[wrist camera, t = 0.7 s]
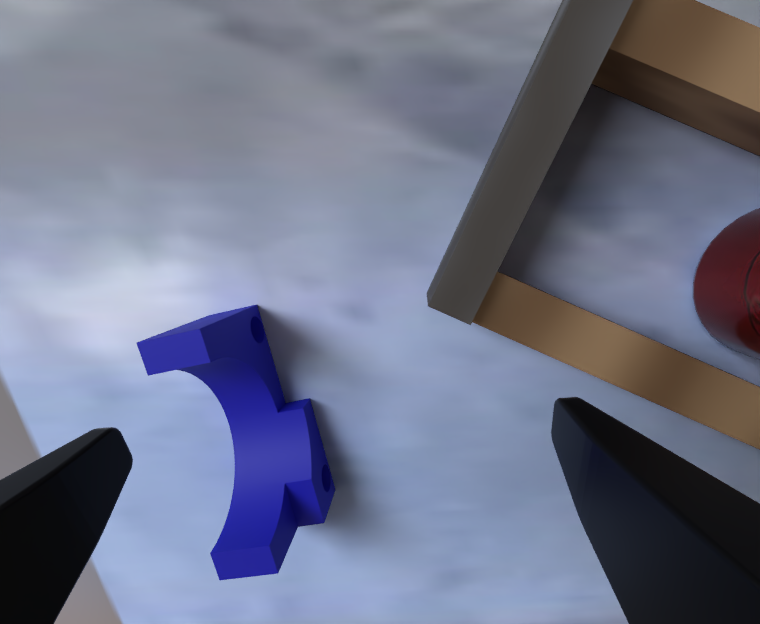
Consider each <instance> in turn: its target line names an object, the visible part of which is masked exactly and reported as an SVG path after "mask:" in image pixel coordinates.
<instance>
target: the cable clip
mask: <svg viewBox="0 0 760 624" xmlns="http://www.w3.org/2000/svg"><path fill="white" fill-rule="evenodd" d="M137 345H138V348H139V351H140V354H141V357H142V360H143V363H144V365H145V368H146V371H147V374H148V375H153V374H158V373H162V372H167V371H172V370H181V371H185V372H188V373H191V374H192V375H194V376H196V377H198V378H199V379H201V380H202V381H203V382H204V383H205V384H206V385H208V387H209V388H210V389H211V390H212V391H213V393H214V394H215V395H216V397H217V398H218V400H219V402H220V403H221V405H222V407H223V409H224V412H225V414H226V417H227V419H228V423H229V426H230V430H231V434H232V439H233V445H234V455H235V479H234V489H233V495H232V500H231V505H230V509H229V513H228V516H227V519H226V522H225V525H224V528H223V530H222V532H221V535H220V537H219V539H218V541H217V543H216V545H215V546H214V548H213V550H212V551H211V553H210V554H211V557H212V560H213V563H214V565H215V568H216V571H217V574H218V577H219V580H226V579H235V578H243V577H251V576H260V575H268V574H276V573H278V572H279V570H280V568H281V565H282V563H283V561H284V558H285V556H286V553H287V551H288V549H289V546H290V544H291V542H292V539H293V537H294V535H295V532H296V530H297V528H298V527H299V526H306V525H313V524H321V523H324V522H325V519H326V516H327V513H328V510H329V507H330V504H331V501H332V498H333V495H334V492H335V486H334V483H333V479H332V476H331V472H330V469H329V465H328V461H327V458H326V454H325V451H324V447H323V444H322V440H321V436H320V433H319V429H318V426H317V422H316V419H315V415H314V412H313V408H312V404H311V401H310V398H309V399H304V400H299V401H293V402H288V403H286V402H285V399H284V395H283V392H282V388H281V385H280V381H279V378H278V375H277V371H276V368H275V364H274V361H273V358H272V354H271V351H270V347H269V344H268V340H267V337H266V334H265V330H264V327H263V323H262V320H261V316H260V313H259V310H258V306H257V305H253V306H249V307H244V308H240V309H235V310H231V311H227V312H222V313H218V314H213V315H209V316H206V317H204V318H201V319H198V320H196V321H193V322H190V323H188V324H185V325H182V326H180V327H177V328H174V329H172V330H169V331H166V332H164V333H161V334H159V335H156V336H153V337H151V338H148V339H145V340H143V341H140V342H137Z"/></svg>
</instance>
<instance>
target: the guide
mask: <svg viewBox="0 0 760 624" xmlns="http://www.w3.org/2000/svg"><path fill="white" fill-rule="evenodd" d="M591 84H593V85H596V86H598V87H600V88H603V89H605V90H607V91H610V92H612V93H614V94H617V95H619V96H621V97H624V98H626V99H628V100H631V101H633V102H635V103H638V104H640V105H642V106H645V107H647V108H649V109H652V110H654V111H656V112H659V113H661V114H663V115H666V116H668V117H670V118H673V119H675V120H677V121H680V122H682V123H684V124H687V125H689V126H691V127H694V128H696V129H698V130H701V131H703V132H705V133H708V134H710V135H712V136H715V137H717V138H719V139H722V140H724V141H726V142H729V143H731V144H733V145H736V146H738V147H740V148H743V149H745V150H747V151H750V152H752V153H754V154H757V155H759V156H760V28H759V27H757V26H754V25H752V24H750V23H747V22H745V21H742V20H740V19H738V18H735V17H733V16H731V15H728V14H726V13H724V12H721V11H719V10H716V9H714V8H712V7H709V6H707V5H705V4H702V3H700V2H698V1H695V0H563V1H562V3H561V5H560V7H559V9H558V11H557V13H556V16H555V18H554V20H553V22H552V24H551V26H550V29H549V31H548V33H547V35H546V37H545V39H544V41H543V44H542V46H541V48H540V50H539V52H538V54H537V57H536V59H535V61H534V63H533V65H532V67H531V69H530V72H529V74H528V76H527V78H526V80H525V82H524V85H523V87H522V89H521V91H520V93H519V95H518V97H517V100H516V102H515V104H514V106H513V108H512V110H511V113H510V115H509V117H508V119H507V121H506V123H505V125H504V128H503V130H502V132H501V134H500V136H499V138H498V141H497V143H496V145H495V147H494V149H493V151H492V153H491V156H490V158H489V160H488V162H487V164H486V166H485V169H484V171H483V173H482V175H481V177H480V179H479V182H478V184H477V186H476V188H475V190H474V192H473V194H472V197H471V199H470V201H469V203H468V205H467V207H466V210H465V212H464V214H463V216H462V218H461V220H460V222H459V225H458V227H457V229H456V231H455V233H454V235H453V238H452V240H451V242H450V244H449V246H448V248H447V250H446V253H445V255H444V257H443V259H442V261H441V263H440V266H439V268H438V270H437V272H436V274H435V276H434V278H433V281H432V283H431V285H430V287H429V289H428V291H427V300H428V306H429V307H431V308H433V309H436V310H438V311H440V312H442V313H445V314H447V315H449V316H451V317H454V318H456V319H458V320H460V321H463V322H465V323H467V324H469V325H471V323H472V322H473V323H476V324H478V325H480V326H482V327H485V328H487V329H489V330H491V331H494V332H496V333H498V334H500V335H503V336H505V337H507V338H509V339H512V340H514V341H516V342H518V343H521V344H523V345H525V346H528V347H530V348H532V349H534V350H537V351H539V352H541V353H543V354H546V355H548V356H550V357H552V358H555V359H557V360H559V361H561V362H564V363H566V364H568V365H570V366H573V367H575V368H577V369H579V370H582V371H584V372H586V373H588V374H591V375H593V376H595V377H597V378H600V379H602V380H604V381H606V382H609V383H611V384H613V385H615V386H618V387H620V388H622V389H624V390H627V391H629V392H631V393H633V394H636V395H638V396H640V397H642V398H645V399H647V400H649V401H651V402H654V403H656V404H658V405H661V406H663V407H665V408H667V409H670V410H672V411H674V412H676V413H679V414H681V415H683V416H685V417H688V418H690V419H692V420H694V421H697V422H699V423H701V424H703V425H706V426H708V427H710V428H712V429H715V430H717V431H719V432H721V433H724V434H726V435H728V436H730V437H733V438H735V439H737V440H739V441H742V442H744V443H746V444H748V445H751V446H753V447H755V448H757V449H760V387H759V386H757V385H754V384H752V383H750V382H748V381H745V380H743V379H741V378H739V377H736V376H734V375H732V374H729V373H727V372H725V371H723V370H720V369H718V368H716V367H714V366H711V365H709V364H707V363H704V362H702V361H700V360H698V359H695V358H693V357H691V356H689V355H686V354H684V353H682V352H680V351H677V350H675V349H673V348H670V347H668V346H666V345H664V344H661V343H659V342H657V341H655V340H652V339H650V338H648V337H645V336H643V335H641V334H639V333H636V332H634V331H632V330H630V329H627V328H625V327H623V326H621V325H618V324H616V323H614V322H611V321H609V320H607V319H605V318H602V317H600V316H598V315H596V314H593V313H591V312H589V311H586V310H584V309H582V308H580V307H577V306H575V305H573V304H571V303H568V302H566V301H564V300H561V299H559V298H557V297H555V296H552V295H550V294H548V293H546V292H543V291H541V290H539V289H537V288H534V287H532V286H530V285H527V284H525V283H523V282H521V281H518V280H516V279H514V278H512V277H509V276H507V275H505V274H502V273H500V272H498V269H499V267H500V265H501V263H502V261H503V259H504V257H505V255H506V253H507V251H508V249H509V247H510V245H511V243H512V241H513V239H514V237H515V235H516V233H517V231H518V229H519V227H520V225H521V223H522V221H523V219H524V217H525V215H526V213H527V211H528V209H529V207H530V205H531V203H532V201H533V199H534V197H535V195H536V193H537V191H538V189H539V187H540V185H541V183H542V181H543V179H544V177H545V175H546V173H547V171H548V169H549V167H550V165H551V163H552V161H553V159H554V157H555V155H556V153H557V151H558V149H559V147H560V145H561V143H562V141H563V139H564V137H565V135H566V133H567V131H568V129H569V127H570V125H571V123H572V121H573V119H574V117H575V115H576V113H577V111H578V109H579V107H580V105H581V103H582V101H583V99H584V97H585V95H586V93H587V91H588V89H589V87H590V85H591Z"/></svg>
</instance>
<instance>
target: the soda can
mask: <svg viewBox="0 0 760 624" xmlns="http://www.w3.org/2000/svg"><path fill="white" fill-rule="evenodd" d="M693 299H694V304H695V308H696V312H697V314H698V316H699V318H700V320H701V322H702V324H703V325H704V327H705V328H706V329H707V330H708V332H709V333H710V334H711V335H712V336H713V337H714V338H716V339H717V340H718V341H719V342H721V343H722V344H723V345H725V346H727V347H729V348H731V349H733V350H735V351H738V352H740V353H743V354H746V355H748V356H751V357H754V358H757V359H759V360H760V208H759V209H755V210H753V211H751V212H749V213H747V214H745V215H743V216H741V217H739V218H738V219H736V220H735V221H734V222H732V223H731V224H730V225H728V226H727V227H726V228H724V229H723V230H722V231H721V232H720V233H719V234H718V235H717V236H716V237H715V238H714V239H713V240H712V242H711V243H710V244H709V246H708V247H707V249H706V250H705V252H704V253H703V255H702V257H701V259H700V262H699V264H698V266H697V269H696V273H695V277H694V282H693Z"/></svg>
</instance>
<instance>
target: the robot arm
mask: <svg viewBox="0 0 760 624" xmlns="http://www.w3.org/2000/svg"><path fill="white" fill-rule="evenodd" d="M551 434H552V441H553V444H554V447H555V450H556V453H557V456H558V459H559V462H560V464H561V467H562V470H563V473H564V476H565V479H566V482H567V485H568V487H569V490H570V493H571V496H572V499H573V502H574V505H575V507H576V510H577V513H578V515H579V518H580V520H581V523H582V525H583V527H584V529H585V532H586V534H587V536H588V538H589V540H590V542H591V544H592V546H593V549H594V551H595V553H596V555H597V557H598V559H599V561H600V563H601V565H602V568H603V570H604V572H605V574H606V576H607V578H608V580H609V582H610V584H611V587H612V589H613V591H614V593H615V595H616V597H617V599H618V601H619V604H620V606H621V608H622V610H623V612H624V614H625V616H626V618H627V620H628V623H629V624H760V504H759V503H758V502H756V501H754V500H752V499H751V498H749V497H747V496H746V495H744V494H742V493H741V492H739V491H737V490H735V489H734V488H732V487H730V486H729V485H727V484H725V483H724V482H722V481H720V480H718V479H717V478H715V477H713V476H712V475H710V474H708V473H707V472H705V471H703V470H701V469H700V468H698V467H696V466H695V465H693V464H691V463H690V462H688V461H686V460H684V459H683V458H681V457H679V456H678V455H676V454H674V453H673V452H671V451H669V450H667V449H666V448H664V447H662V446H661V445H659V444H657V443H656V442H654V441H652V440H650V439H649V438H647V437H645V436H644V435H642V434H640V433H639V432H637V431H635V430H633V429H632V428H630V427H628V426H627V425H625V424H623V423H622V422H620V421H618V420H616V419H615V418H613V417H611V416H610V415H608V414H606V413H605V412H603V411H601V410H599V409H598V408H596V407H594V406H593V405H591V404H589V403H588V402H586V401H584V400H582V399H580V398H578V397H570V398H559V399H557V400H556V401H555V404H554V411H553V421H552V430H551ZM132 462H133V459H132V455H131V453H130V451H129V448H128V446H127V444H126V442H125V440H124V438H123V436H122V434H121V432H120V431H119V430H118V429H117V428H113V427H110V428H97V429H93V430H91V431H89V432H88V433H86V434H84V435H82V436H80V437H78V438H77V439H75V440H73V441H71V442H69V443H67V444H66V445H64V446H62V447H60V448H58V449H56V450H55V451H53V452H51V453H49V454H47V455H45V456H44V457H42V458H40V459H38V460H36V461H34V462H33V463H31V464H29V465H27V466H25V467H23V468H22V469H20V470H18V471H16V472H14V473H12V474H11V475H9V476H7V477H5V478H3V479H1V480H0V624H54V622H55V620H56V619H57V617H58V615H59V613H60V611H61V610H62V608H63V606H64V604H65V602H66V600H67V598H68V597H69V595H70V593H71V591H72V589H73V588H74V586H75V584H76V582H77V580H78V579H79V577H80V575H81V573H82V571H83V569H84V568H85V566H86V564H87V562H88V560H89V559H90V557H91V555H92V553H93V551H94V549H95V547H96V545H97V543H98V542H99V540H100V537H101V535H102V533H103V531H104V529H105V527H106V524H107V522H108V520H109V518H110V515H111V513H112V511H113V509H114V506H115V504H116V502H117V500H118V497H119V495H120V493H121V491H122V488H123V486H124V484H125V481H126V479H127V477H128V475H129V472H130V470H131V468H132Z"/></svg>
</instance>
